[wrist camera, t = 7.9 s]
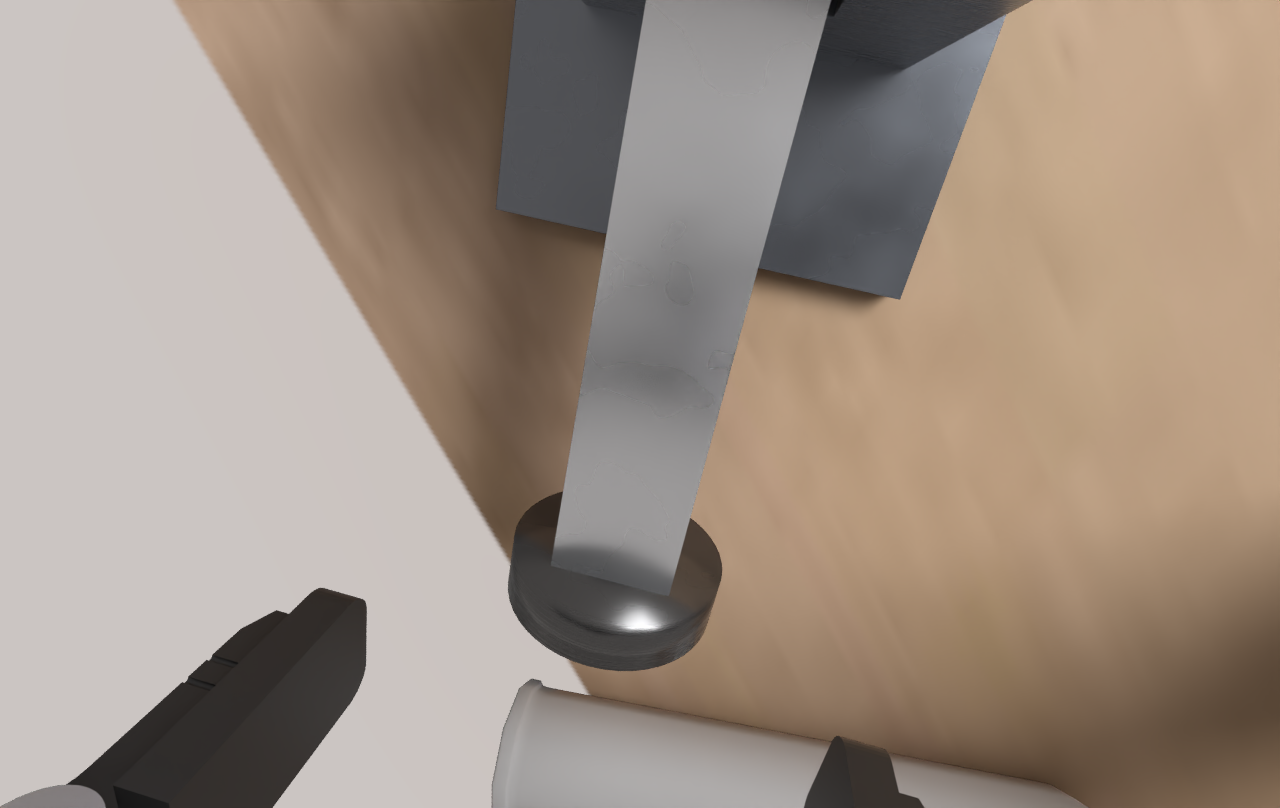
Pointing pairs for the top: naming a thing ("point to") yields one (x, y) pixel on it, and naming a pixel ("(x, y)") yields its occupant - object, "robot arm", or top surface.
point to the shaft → (666, 332)
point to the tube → (697, 762)
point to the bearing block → (823, 141)
